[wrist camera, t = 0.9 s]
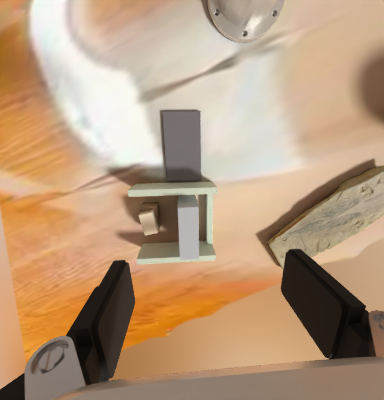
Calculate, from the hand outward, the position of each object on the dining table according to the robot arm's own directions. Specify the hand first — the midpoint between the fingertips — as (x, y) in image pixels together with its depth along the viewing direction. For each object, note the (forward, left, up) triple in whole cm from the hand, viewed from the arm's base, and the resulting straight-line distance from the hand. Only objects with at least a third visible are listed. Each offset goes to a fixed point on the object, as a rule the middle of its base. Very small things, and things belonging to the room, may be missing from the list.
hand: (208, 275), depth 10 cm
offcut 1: (+7, -8, -28) cm, 30 cm away
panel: (-7, -1, -28) cm, 29 cm away
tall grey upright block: (+7, -1, -28) cm, 29 cm away
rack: (+7, -3, -28) cm, 29 cm away
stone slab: (+10, +32, -29) cm, 44 cm away
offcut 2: (+7, -8, -25) cm, 28 cm away
